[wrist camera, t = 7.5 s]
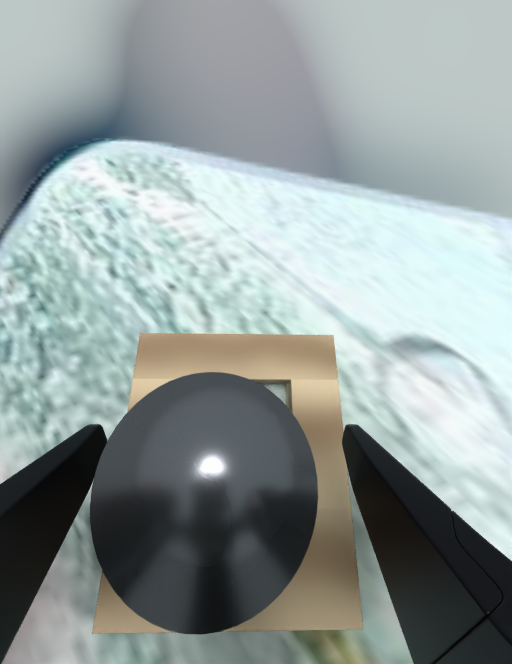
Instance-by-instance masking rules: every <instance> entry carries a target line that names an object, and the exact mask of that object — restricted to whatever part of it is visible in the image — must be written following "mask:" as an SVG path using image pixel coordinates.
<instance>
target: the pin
mask: <svg viewBox="0 0 512 664" xmlns="http://www.w3.org/2000/svg"><path fill="white" fill-rule="evenodd" d="M317 506H318V480H317V473H316V467H315V461H314V458H313V454H312V451H311V447H310V445H309V442H308V440H307V438H306V435H305V433H304V431H303V429H302V428H301V426H300V424H299V422H298V420H297V419H296V418H295V416H294V415H293V414H292V412H291V411H290V409H289V408H288V407H287V406H286V405H285V404H284V403H283V402H282V401H281V400H280V399H279V398H278V397H277V396H275V395H274V394H273V393H272V392H271V391H269V390H268V389H266V388H265V387H263V386H261V385H260V384H258V383H256V382H254V381H252V380H249V379H247V378H244V377H241V376H238V375H235V374H229V373H223V372H203V373H195V374H190V375H186V376H182V377H179V378H177V379H174V380H171V381H169V382H167V383H165V384H163V385H161V386H159V387H158V388H156V389H155V390H153V391H151V392H150V393H148V394H147V395H146V396H145V397H143V398H142V399H141V400H140V401H139V402H137V403H136V404H135V405H134V406H133V407H132V408H131V409H130V410H129V412H128V413H127V414H126V415H125V416H124V417H123V419H122V420H121V421H120V423H119V424H118V425H117V427H116V428H115V430H114V431H113V433H112V435H111V436H110V438H109V440H108V441H107V444H106V446H105V448H104V450H103V452H102V455H101V457H100V460H99V463H98V466H97V469H96V472H95V477H94V481H93V486H92V493H91V503H90V524H91V531H92V538H93V544H94V547H95V551H96V555H97V558H98V561H99V563H100V566H101V568H102V570H103V573H104V575H105V577H106V578H107V580H108V582H109V583H110V585H111V587H112V588H113V590H114V591H115V593H116V594H117V595H118V596H119V597H120V599H121V600H122V601H123V602H124V603H125V604H126V605H127V606H128V607H129V608H130V609H131V610H132V611H134V612H135V613H136V614H137V615H138V616H140V617H142V618H143V619H145V620H146V621H148V622H150V623H151V624H153V625H156V626H158V627H161V628H163V629H166V630H169V631H173V632H178V633H183V634H208V633H214V632H220V631H223V630H226V629H229V628H233V627H236V626H238V625H240V624H242V623H244V622H246V621H248V620H249V619H251V618H253V617H254V616H256V615H257V614H259V613H260V612H261V611H263V610H264V609H265V608H267V607H268V606H269V605H270V604H271V603H272V602H273V601H274V600H275V599H276V598H277V597H278V596H279V595H280V594H281V593H282V592H283V590H284V589H285V588H286V587H287V585H288V584H289V583H290V582H291V580H292V579H293V577H294V575H295V574H296V572H297V570H298V569H299V567H300V565H301V563H302V561H303V559H304V557H305V554H306V552H307V550H308V548H309V544H310V541H311V538H312V535H313V531H314V527H315V521H316V516H317Z"/></svg>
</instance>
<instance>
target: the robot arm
mask: <svg viewBox="0 0 512 664" xmlns="http://www.w3.org/2000/svg"><path fill="white" fill-rule="evenodd" d="M106 444H107V438H106V435H105V432H104V430H103V427H102V426H101V425H100V424H89V425H87V426H85V427H84V428H82V429H81V430H79V431H78V432H76V433H75V434H74V435H72V436H71V437H69V438H68V439H66V440H65V441H63V442H62V443H60V444H59V445H57V446H56V447H54V448H53V449H51V450H50V451H48V452H47V453H46V454H44V455H43V456H41V457H40V458H38V459H37V460H35V461H34V462H32V463H31V464H29V465H28V466H26V467H25V468H23V469H22V470H20V471H19V472H17V473H16V474H15V475H13V476H12V477H10V478H9V479H7V480H6V481H4V482H3V483H1V484H0V664H1V663H2V661H3V659H4V657H5V655H6V653H7V651H8V649H9V647H10V645H11V643H12V641H13V639H14V637H15V635H16V634H17V632H18V630H19V628H20V626H21V624H22V622H23V620H24V618H25V616H26V614H27V612H28V610H29V608H30V606H31V604H32V602H33V600H34V598H35V596H36V594H37V592H38V590H39V588H40V586H41V584H42V582H43V580H44V578H45V576H46V574H47V572H48V570H49V568H50V566H51V564H52V562H53V560H54V559H55V557H56V555H57V553H58V551H59V549H60V547H61V545H62V543H63V541H64V539H65V537H66V535H67V533H68V531H69V529H70V527H71V525H72V523H73V521H74V519H75V517H76V515H77V513H78V511H79V509H80V507H81V505H82V503H83V501H84V499H85V497H86V495H87V493H88V491H89V489H90V486H91V484H92V482H93V479H94V477H95V472H96V469H97V466H98V463H99V460H100V457H101V455H102V452H103V450H104V448H105V446H106ZM342 447H343V451H344V455H345V460H346V464H347V468H348V472H349V476H350V480H351V484H352V488H353V491H354V494H355V497H356V500H357V503H358V506H359V509H360V512H361V515H362V517H363V520H364V523H365V526H366V529H367V532H368V534H369V537H370V540H371V543H372V546H373V549H374V552H375V554H376V557H377V560H378V563H379V566H380V569H381V572H382V574H383V577H384V580H385V583H386V586H387V589H388V592H389V594H390V597H391V600H392V603H393V606H394V609H395V612H396V614H397V617H398V620H399V623H400V626H401V629H402V632H403V634H404V637H405V640H406V643H407V646H408V649H409V652H410V654H411V657H412V660H413V663H414V664H512V561H511V560H510V559H509V558H507V557H506V556H505V555H504V554H503V553H501V552H500V551H499V550H498V549H496V548H495V547H494V546H493V545H492V544H490V543H489V542H488V541H487V540H486V539H485V538H483V537H482V536H481V535H480V534H479V533H478V532H477V531H475V530H474V529H473V528H472V527H471V526H470V525H469V524H467V523H466V522H465V521H464V520H463V519H462V518H461V517H460V516H458V515H457V514H456V513H455V512H454V511H451V509H450V508H449V507H448V506H447V505H446V504H445V503H444V502H443V501H442V500H441V499H440V498H438V497H437V496H436V495H435V494H434V493H433V492H432V491H431V490H430V489H428V488H427V487H426V486H425V485H424V484H423V483H422V482H421V481H420V480H418V479H417V478H416V477H415V476H414V475H413V474H412V473H411V472H410V471H408V470H407V469H406V468H405V467H404V466H403V465H402V464H401V463H400V462H399V461H397V460H396V459H395V458H394V457H393V456H392V455H391V454H390V453H389V452H387V451H386V450H385V449H384V448H383V447H382V446H381V445H380V444H379V443H377V442H376V441H375V440H374V439H373V438H372V437H371V436H370V435H369V434H367V433H366V432H365V431H364V430H363V429H362V428H361V427H360V426H358V425H356V424H348V425H346V426H345V429H344V433H343V437H342Z"/></svg>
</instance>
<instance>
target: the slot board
mask: <svg viewBox="0 0 512 664" xmlns="http://www.w3.org/2000/svg"><path fill="white" fill-rule="evenodd" d="M203 372H223V373H229V374H235V375H238V376H241V377H244V378H247V379H249V380H252V381H254V382H256V383H258V384H286V402H287V407H288V408H289V409H290V411H291V412H292V414H293V415H294V416H295V418H296V419H297V420H298V422H299V424H300V426H301V428H302V429H303V431H304V433H305V435H306V438H307V440H308V442H309V445H310V447H311V451H312V454H313V458H314V461H315V467H316V473H317V480H318V506H317V516H316V521H315V527H314V531H313V535H312V538H311V541H310V544H309V548H308V550H307V552H306V554H305V557H304V559H303V561H302V563H301V565H300V567H299V569H298V570H297V572H296V574H295V575H294V577H293V579H292V580H291V582H290V583H289V584H288V585H287V587H286V588H285V589H284V590H283V592H282V593H281V594H280V595H279V596H278V597H277V598H276V599H275V600H274V601H273V602H272V603H271V604H270V605H269V606H268V607H267V608H265V609H264V610H263V611H261V612H260V613H259V614H257V615H256V616H254V617H253V618H251V619H249V620H248V621H246V622H244V623H242V624H240V625H238V626H236V627H233V628H229V629H226V630H223V631H220V632H226V631H292V630H359V629H363V620H362V610H361V600H360V590H359V581H358V571H357V561H356V551H355V542H354V532H353V522H352V512H351V502H350V493H349V483H348V473H347V464H346V460H345V455H344V451H343V447H342V437H343V424H342V414H341V405H340V395H339V385H338V375H337V366H336V356H335V346H334V336H333V335H264V334H154V333H140V337H139V344H138V350H137V356H136V363H135V369H134V375H133V381H132V388H131V394H130V400H129V406H128V412H129V410H130V409H131V408H132V407H133V406H134V405H135V404H136V403H137V402H139V401H140V400H141V399H142V398H143V397H145V396H146V395H147V394H148V393H150V392H151V391H153V390H155V389H156V388H158V387H159V386H161V385H163V384H165V383H167V382H169V381H171V380H174V379H177V378H179V377H182V376H186V375H190V374H195V373H203ZM160 632H173V631H169V630H166V629H163V628H161V627H158V626H156V625H153V624H151V623H150V622H148V621H146V620H145V619H143V618H142V617H140V616H138V615H137V614H136V613H135V612H134V611H132V610H131V609H130V608H129V607H128V606H127V605H126V604H125V603H124V602H123V601H122V600H121V599H120V597H119V596H118V595H117V594H116V593H115V591H114V590H113V588H112V587H111V585H110V583H109V582H108V580H107V578H106V577H105V575H104V573H103V570H102V575H101V581H100V588H99V594H98V600H97V607H96V613H95V619H94V625H93V632H92V634H94V633H160Z"/></svg>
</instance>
